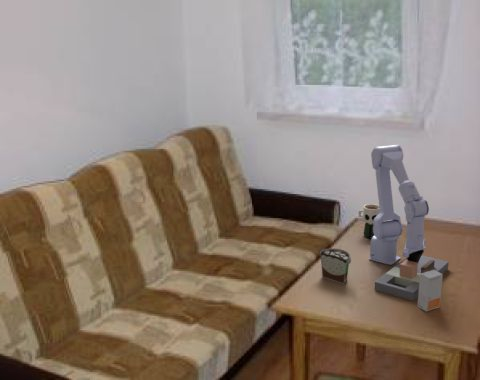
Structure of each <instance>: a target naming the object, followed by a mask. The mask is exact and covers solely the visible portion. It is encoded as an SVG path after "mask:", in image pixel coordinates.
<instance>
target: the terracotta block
mask: <svg viewBox="0 0 480 380" xmlns="http://www.w3.org/2000/svg"><path fill="white" fill-rule="evenodd" d="M417 269H418V263H416V262H412V261H409V260H405V261H404V262H402V263H401V264H400V275H399V276H401V277H405V278H409V279H413V278H414V277H415V276H416V275H417Z"/></svg>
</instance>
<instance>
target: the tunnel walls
mask: <svg viewBox="0 0 480 380" xmlns="http://www.w3.org/2000/svg"><path fill="white" fill-rule="evenodd" d="M405 258H406V257H405ZM405 258H404V259H405ZM404 259H403V260H401V261H402V262H404V261H405V260H408V259H407V258H406V259H405V260H404ZM401 261H400V262H401ZM402 262H401V263H402ZM434 262H435V260H429V261H428V262H427V263H426V264H424V265H423V266H422V267H421V273H424V272H427V271H430V270H431V269H432V268H433V267H434Z"/></svg>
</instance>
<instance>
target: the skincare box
mask: <svg viewBox="0 0 480 380" xmlns="http://www.w3.org/2000/svg"><path fill="white" fill-rule="evenodd" d="M443 276H444V273H443V274H441V273H439V272H437V271H435V270H431V271H427V272H424V273H421V274H420V281H419V294H418V297H417V308H419V309H421V310H423V311H425V312H429V311H432V310H436V309H440V308H441V301H442V300H441V299H442V298H441V296H442V290H443V289H442V288H443Z"/></svg>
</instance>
